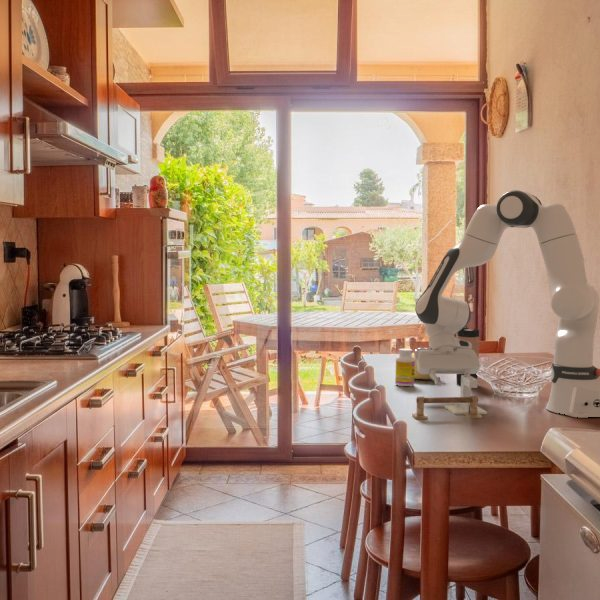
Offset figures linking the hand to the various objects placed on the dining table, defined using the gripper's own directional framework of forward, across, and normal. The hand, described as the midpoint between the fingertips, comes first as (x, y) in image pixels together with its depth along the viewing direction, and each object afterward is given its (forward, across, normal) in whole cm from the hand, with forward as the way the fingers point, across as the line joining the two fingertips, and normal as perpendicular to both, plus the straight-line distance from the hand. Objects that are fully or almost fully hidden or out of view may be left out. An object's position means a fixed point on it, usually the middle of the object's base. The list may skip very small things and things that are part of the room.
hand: (452, 383), depth 231 cm
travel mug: (-15, +15, +24) cm, 32 cm away
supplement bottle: (-15, -8, +24) cm, 30 cm away
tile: (+12, 0, -4) cm, 13 cm away
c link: (+14, 0, -6) cm, 15 cm away
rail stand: (+18, -8, -10) cm, 22 cm away
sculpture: (-24, +2, +33) cm, 40 cm away
